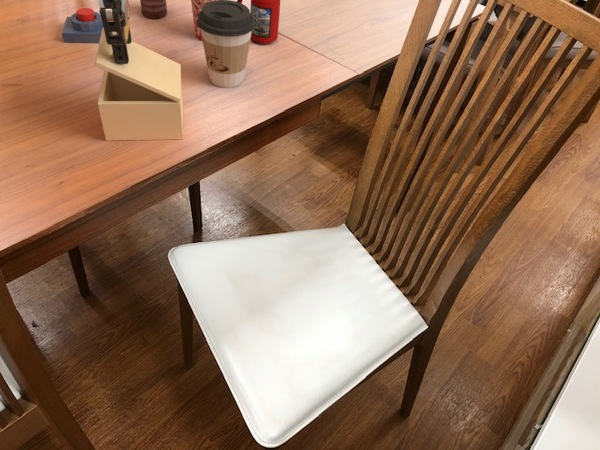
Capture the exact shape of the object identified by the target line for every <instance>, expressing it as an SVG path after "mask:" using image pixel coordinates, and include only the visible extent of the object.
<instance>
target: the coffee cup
mask: <svg viewBox="0 0 600 450" xmlns="http://www.w3.org/2000/svg"><path fill="white" fill-rule="evenodd" d="M250 11H251V9H249V7H248V6H247V5H246V4H243V2H242V3H239V2H237V0H236V1H235V0H216V1H212V2H209V3H207V4H205V5H204V6H203V7H202V11H201V12H200V13H199V14H198V20H197V24H198V26H199V27H200V29H201V34H202V40H203V41H202V40H201V41H202V45H203V52H204V57H205V61H206V68H207V74H208V77H209V80H210V82H211V84H213V85H214V86H217V87H219V88H223V89H231V88H236V87H238V86H240V85H241V84H242V83H243V82H244V79H245V76H246V71H247V70H246V69H247V63H248V57H249V51H250V43H251V39H252V38H251V32H252V30H253V29H254V27H255V22H254V17H253V16H252V14H251V13H250Z"/></svg>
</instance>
